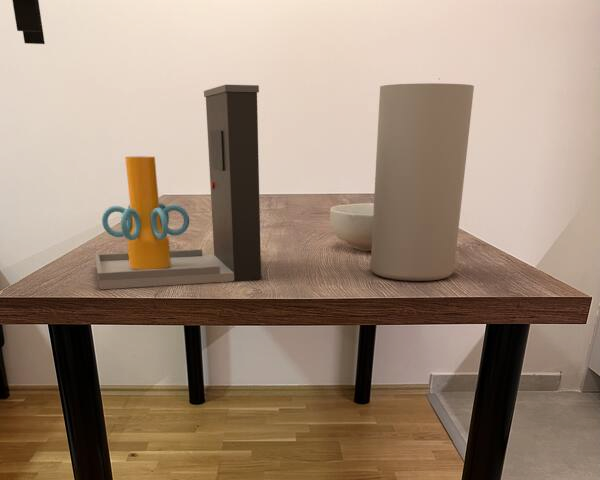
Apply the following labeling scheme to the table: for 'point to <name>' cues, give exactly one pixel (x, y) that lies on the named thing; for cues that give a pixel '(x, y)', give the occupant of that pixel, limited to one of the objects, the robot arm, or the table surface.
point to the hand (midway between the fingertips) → (32, 38)
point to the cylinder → (145, 217)
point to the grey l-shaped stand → (214, 204)
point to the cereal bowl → (354, 224)
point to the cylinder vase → (419, 179)
